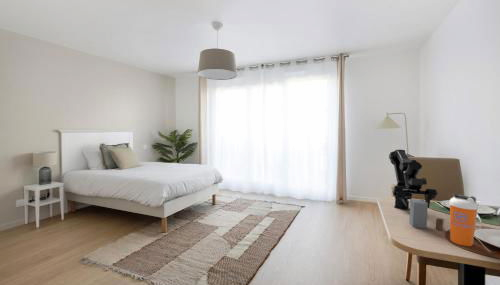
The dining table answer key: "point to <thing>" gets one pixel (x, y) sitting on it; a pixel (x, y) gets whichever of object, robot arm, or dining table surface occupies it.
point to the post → (439, 223)
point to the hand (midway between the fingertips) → (417, 206)
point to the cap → (418, 213)
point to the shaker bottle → (462, 219)
